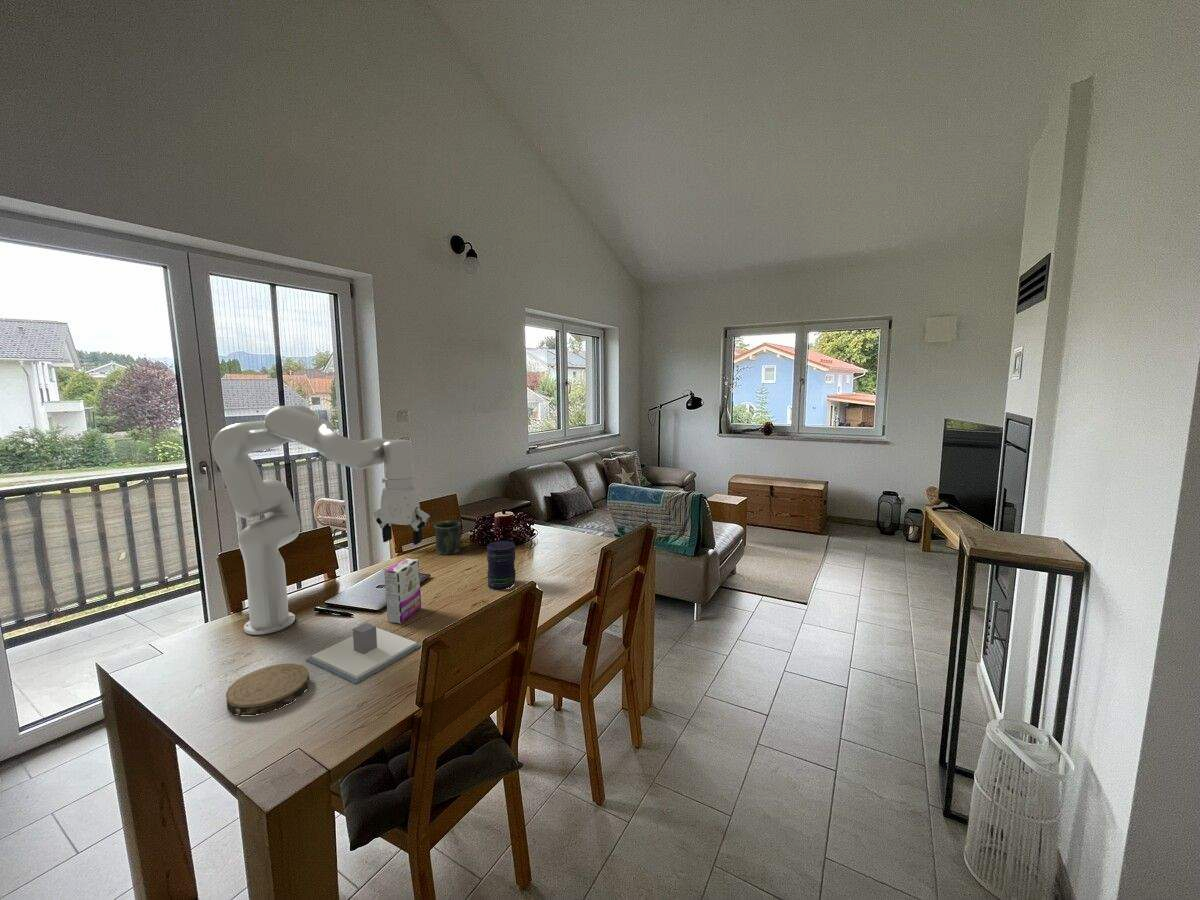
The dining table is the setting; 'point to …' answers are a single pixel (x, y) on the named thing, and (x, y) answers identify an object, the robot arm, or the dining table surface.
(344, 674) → the mat
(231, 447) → the robot arm
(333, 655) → the lid
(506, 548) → the storage jar
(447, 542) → the mug
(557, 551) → the dining table surface
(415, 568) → the candy bar box
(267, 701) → the cork trivet
